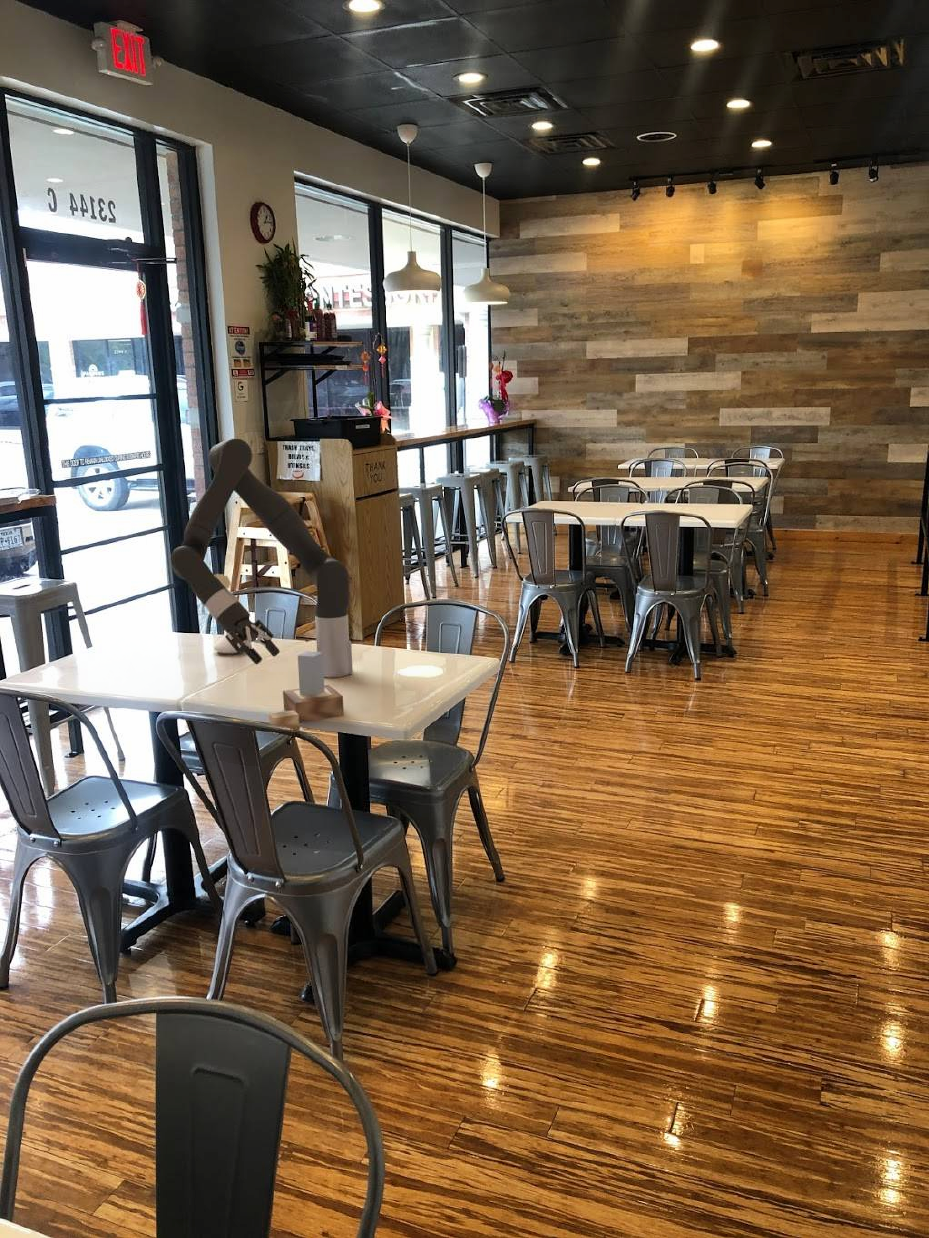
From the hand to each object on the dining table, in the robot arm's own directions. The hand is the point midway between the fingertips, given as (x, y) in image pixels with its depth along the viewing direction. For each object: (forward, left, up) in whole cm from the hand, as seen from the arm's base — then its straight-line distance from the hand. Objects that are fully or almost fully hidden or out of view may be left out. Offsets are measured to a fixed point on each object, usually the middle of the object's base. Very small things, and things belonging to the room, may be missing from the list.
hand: (268, 658), depth 265 cm
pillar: (-8, +9, -8) cm, 15 cm away
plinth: (-8, +9, -13) cm, 18 cm away
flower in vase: (-3, -67, -13) cm, 69 cm away
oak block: (+2, +19, -13) cm, 23 cm away
